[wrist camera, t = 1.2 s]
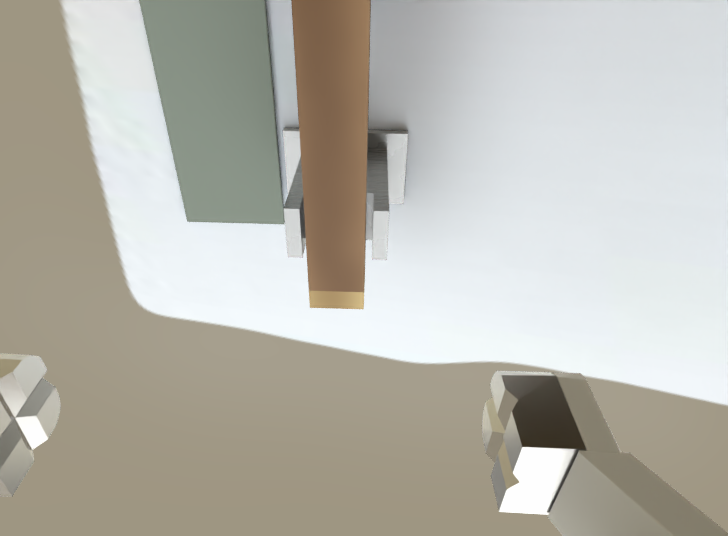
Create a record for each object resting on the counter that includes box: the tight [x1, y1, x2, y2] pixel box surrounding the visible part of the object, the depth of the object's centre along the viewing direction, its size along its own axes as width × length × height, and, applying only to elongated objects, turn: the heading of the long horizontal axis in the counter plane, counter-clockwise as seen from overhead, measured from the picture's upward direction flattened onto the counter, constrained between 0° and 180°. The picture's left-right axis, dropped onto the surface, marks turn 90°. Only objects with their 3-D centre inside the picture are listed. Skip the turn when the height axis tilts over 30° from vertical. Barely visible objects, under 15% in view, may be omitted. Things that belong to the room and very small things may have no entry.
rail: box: [291, 0, 371, 309], centre depth 23 cm, size 3×21×3 cm, turn 179°
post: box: [283, 128, 408, 260], centre depth 30 cm, size 8×5×9 cm, turn 89°
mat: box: [139, 0, 285, 224], centre depth 30 cm, size 7×22×1 cm, turn 179°
